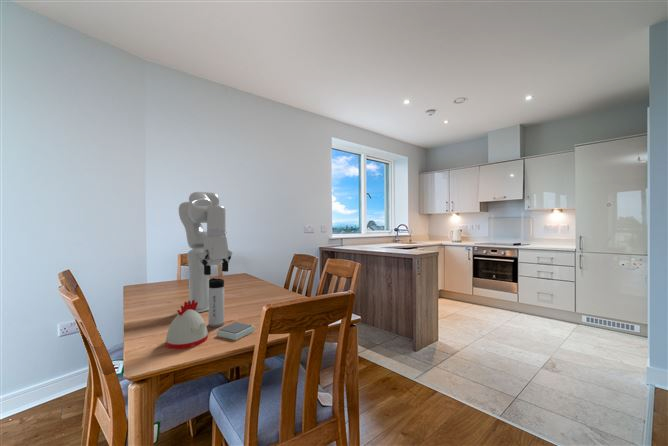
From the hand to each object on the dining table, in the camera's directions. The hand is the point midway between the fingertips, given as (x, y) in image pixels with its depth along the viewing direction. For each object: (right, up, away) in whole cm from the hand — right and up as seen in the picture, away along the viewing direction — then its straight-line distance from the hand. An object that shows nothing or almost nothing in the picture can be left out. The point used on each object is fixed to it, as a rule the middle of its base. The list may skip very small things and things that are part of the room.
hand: (216, 273), depth 121 cm
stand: (+12, -23, -10) cm, 27 cm away
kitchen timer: (-4, -23, -16) cm, 28 cm away
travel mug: (0, -23, 0) cm, 23 cm away
